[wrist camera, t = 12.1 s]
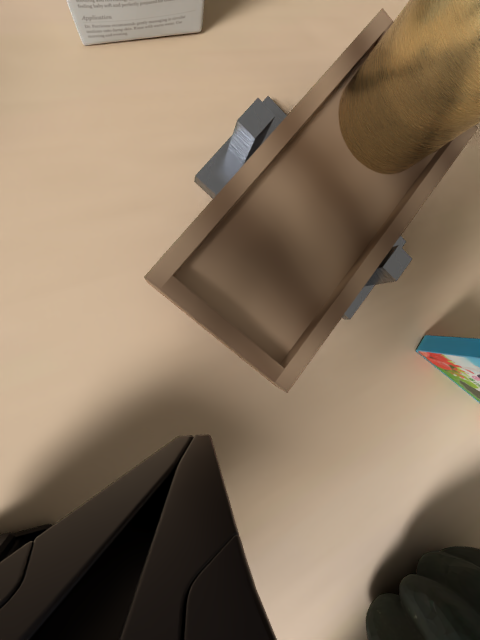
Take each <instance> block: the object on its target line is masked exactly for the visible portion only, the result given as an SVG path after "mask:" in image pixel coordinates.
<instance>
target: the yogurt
mask: <svg viewBox="0 0 480 640" xmlns="http://www.w3.org/2000/svg"><path fill="white" fill-rule="evenodd" d="M416 352H418V353H419V354H420V355H421V356H423V357H424V358H425V359H426V360H428V361H429V362H430V363H431V364H432V365H434V366H435V367H436V368H437V369H439V370H440V371H441V372H442V373H444V374H445V375H446V376H447V377H448V378H450V379H451V380H452V381H453V382H455V383H456V384H457V385H458V386H459V387H461V388H462V389H463V390H464V391H466V392H467V393H468V394H469V395H471V396H472V397H473V398H474V399H475V400H477V401H478V402H479V403H480V339H476V338H461V337H446V336H430V335H425V336H424V338H423V339H422V341H421V343H420V345H419V346H418V348H417V350H416Z"/></svg>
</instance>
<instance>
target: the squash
mask: <svg viewBox="0 0 480 640" xmlns="http://www.w3.org/2000/svg"><path fill="white" fill-rule="evenodd" d="M399 592H400V595H397V594H392V593H385V594H382V595H380V596H378V597H377V598H376V599H375V600H374V601H373V602H372V604H371V605H370V607H369V609H368V612H367V616H366V631H367V637H368V640H480V549H476V548H471V547H450V548H446V549H443V550H441V551H440V552H439V551H434V552H428V553H426V554H424V555H423V556H422V557H421V559H420V560H419V562H418V566H417V575H415V574H409V575H407V576H406V577H404V578H403V579H402V581H401V583H400V585H399Z"/></svg>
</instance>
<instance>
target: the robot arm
mask: <svg viewBox="0 0 480 640" xmlns="http://www.w3.org/2000/svg"><path fill="white" fill-rule="evenodd" d="M0 640H277V639H276V636H275V634H274V632H273V629H272V627H271V624H270V622H269V619H268V617H267V614H266V612H265V610H264V607H263V605H262V602H261V600H260V597H259V595H258V592H257V590H256V587H255V584H254V581H253V577H252V574H251V571H250V568H249V565H248V562H247V559H246V556H245V553H244V549H243V546H242V542H241V539H240V537H239V533H238V529H237V526H236V522H235V519H234V515H233V512H232V508H231V505H230V502H229V498H228V495H227V491H226V488H225V484H224V481H223V477H222V474H221V470H220V467H219V463H218V460H217V456H216V453H215V449H214V446H213V442H212V439H211V436H210V435H196V436H192V435H188V436H178V437H176V438H175V439H174V440H172V441H171V442H169V443H168V444H167V445H165V446H164V447H162V448H161V449H160V450H158V451H157V452H155V453H154V454H153V455H151V456H150V457H148V458H147V459H146V460H144V461H143V462H141V463H140V464H139V465H137V466H136V467H134V468H133V469H132V470H130V471H129V472H127V473H126V474H125V475H123V476H122V477H120V478H119V479H118V480H116V481H115V482H113V483H112V484H111V485H109V486H108V487H106V488H105V489H104V490H102V491H101V492H99V493H98V494H97V495H95V496H94V497H92V498H91V499H90V500H88V501H87V502H85V503H84V504H83V505H81V506H80V507H78V508H77V509H76V510H74V511H73V512H71V513H70V514H69V515H67V516H66V517H64V518H63V519H62V520H60V521H59V522H57V523H56V524H55V525H51V524H47V525H43V526H39V527H36V528H32V529H28V530H25V531H21V532H17V533H6V534H2V535H0Z"/></svg>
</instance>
